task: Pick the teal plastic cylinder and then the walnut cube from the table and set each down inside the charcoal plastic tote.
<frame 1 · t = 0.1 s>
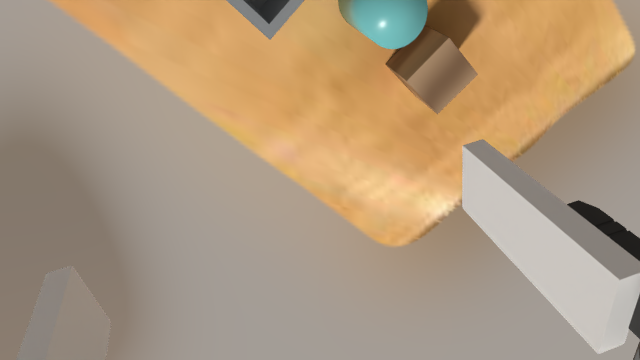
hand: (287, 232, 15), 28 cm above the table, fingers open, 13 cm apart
walnut cube: (418, 61, 44), on the table
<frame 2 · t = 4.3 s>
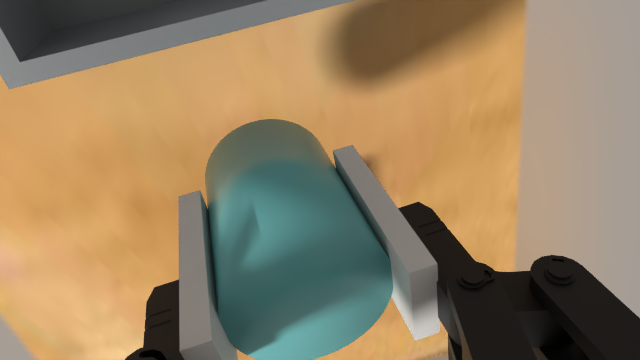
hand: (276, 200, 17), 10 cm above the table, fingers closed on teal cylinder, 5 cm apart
teal cylinder: (268, 176, 18), point 8 cm above the table, touching gripper
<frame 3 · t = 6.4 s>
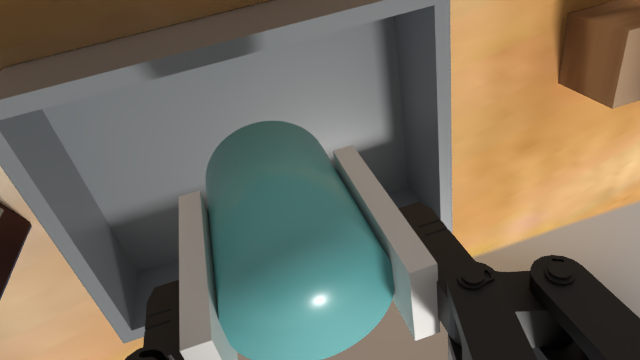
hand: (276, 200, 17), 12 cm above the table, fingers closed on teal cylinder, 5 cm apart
teal cylinder: (269, 177, 18), point 10 cm above the table, touching gripper
walnut cube: (593, 40, 32), on the table
tote: (251, 139, 28), on the table
when the fingers open (1 cm above the table, at t = 8.5 s): teal cylinder stays where it is, resting on tote.
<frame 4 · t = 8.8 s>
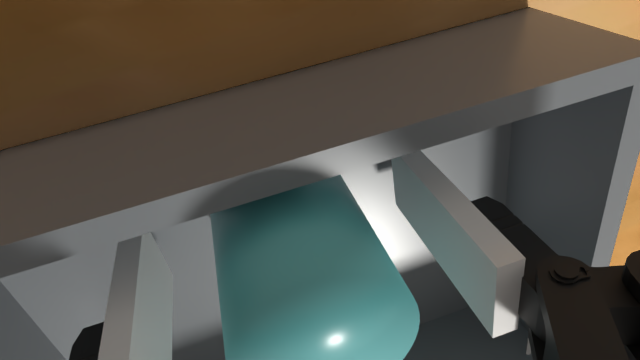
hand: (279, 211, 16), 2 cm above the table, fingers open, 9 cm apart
teal cylinder: (276, 196, 17), point 1 cm above the table, touching tote
tote: (290, 252, 19), on the table
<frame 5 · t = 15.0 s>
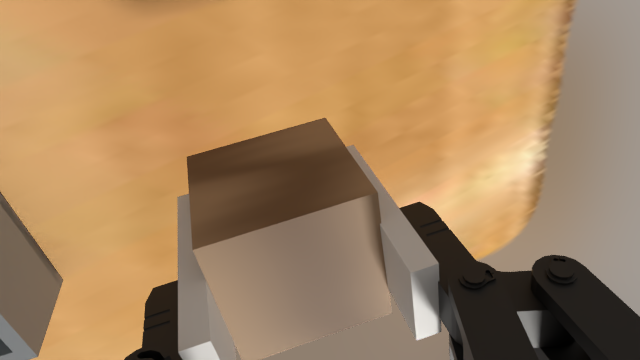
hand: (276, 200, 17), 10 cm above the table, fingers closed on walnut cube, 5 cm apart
walnut cube: (273, 193, 17), point 9 cm above the table, touching gripper
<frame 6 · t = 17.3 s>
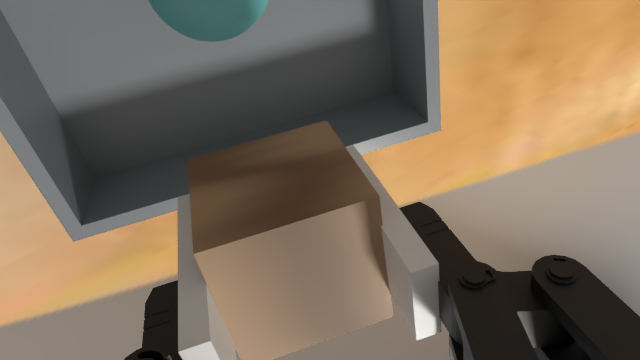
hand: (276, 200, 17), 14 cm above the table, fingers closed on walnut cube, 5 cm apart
walnut cube: (274, 196, 17), point 13 cm above the table, touching gripper
tote: (217, 22, 26), on the table
when the fingers open (1 cm above the table, at t = 19.6 s): walnut cube stays where it is, resting on tote.
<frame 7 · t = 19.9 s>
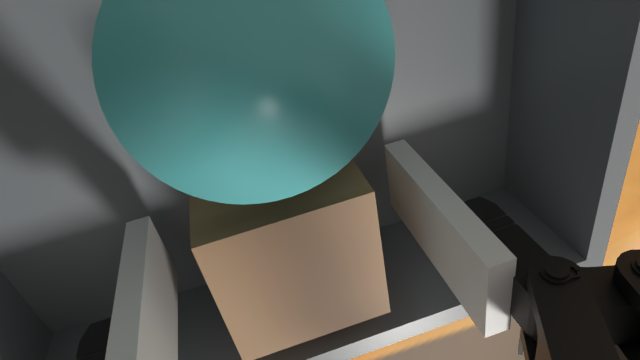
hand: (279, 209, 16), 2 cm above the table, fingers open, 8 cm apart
teal cylinder: (222, 2, 13), point 1 cm above the table, touching tote
walnut cube: (273, 193, 17), point 1 cm above the table, touching tote
tote: (247, 101, 16), on the table
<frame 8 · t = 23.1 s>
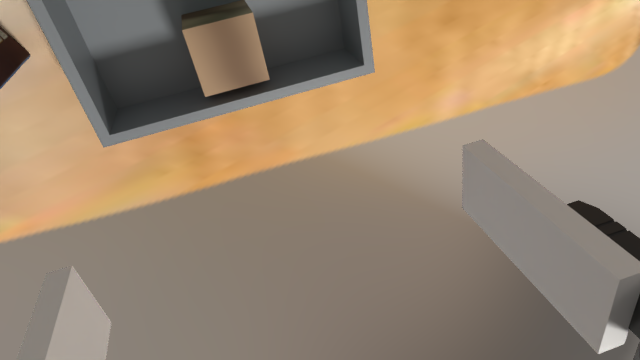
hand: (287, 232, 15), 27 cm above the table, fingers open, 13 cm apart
walnut cube: (222, 38, 36), point 1 cm above the table, touching tote
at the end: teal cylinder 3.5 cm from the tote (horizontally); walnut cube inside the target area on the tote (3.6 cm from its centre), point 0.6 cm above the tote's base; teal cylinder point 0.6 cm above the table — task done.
